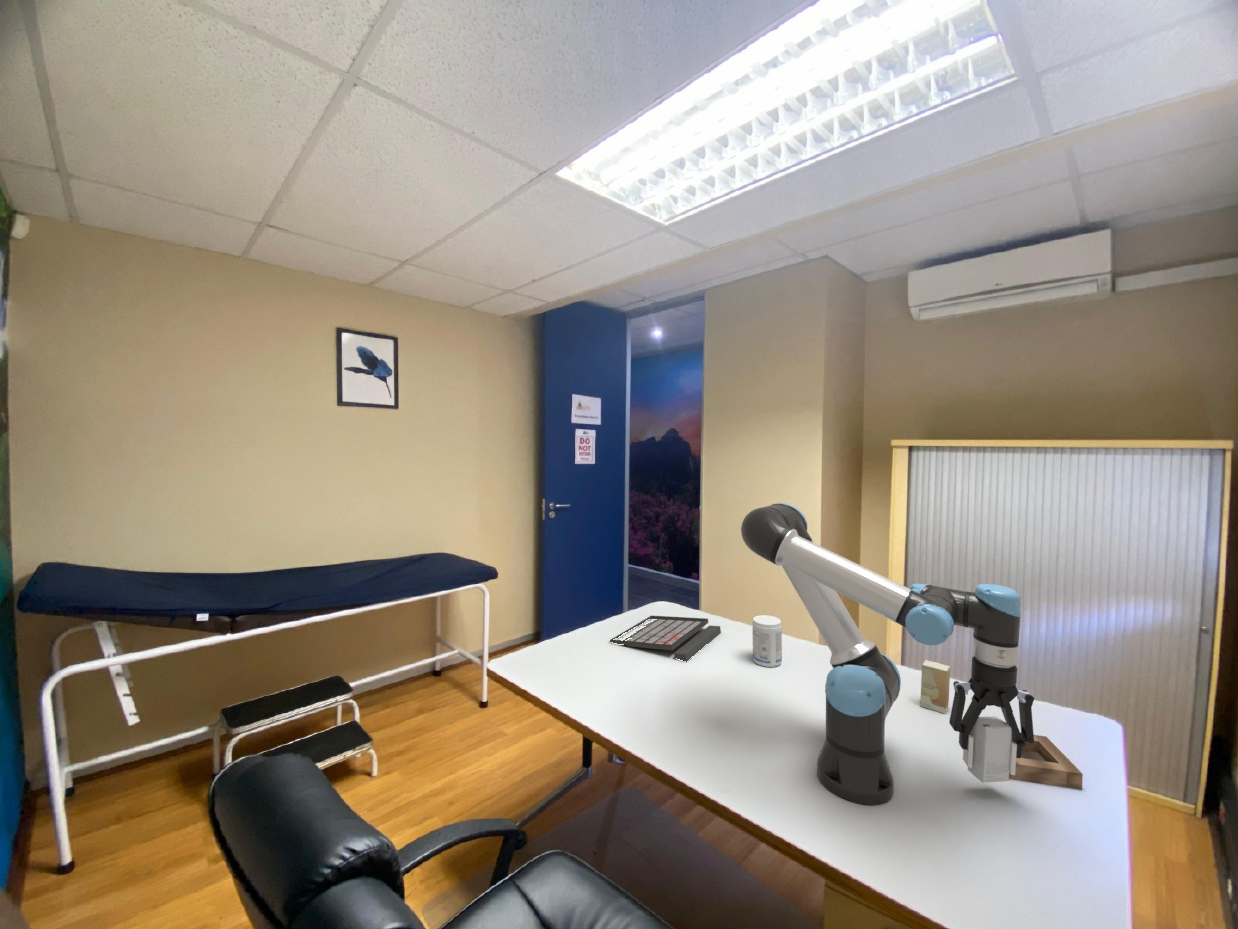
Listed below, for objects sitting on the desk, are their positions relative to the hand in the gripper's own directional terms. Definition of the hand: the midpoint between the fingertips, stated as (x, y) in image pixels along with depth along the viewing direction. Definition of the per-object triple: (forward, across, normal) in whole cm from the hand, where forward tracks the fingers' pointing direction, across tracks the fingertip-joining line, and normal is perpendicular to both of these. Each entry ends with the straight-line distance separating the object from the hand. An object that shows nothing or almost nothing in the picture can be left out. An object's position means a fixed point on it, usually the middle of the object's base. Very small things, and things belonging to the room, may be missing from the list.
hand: (988, 767), depth 103 cm
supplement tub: (+8, -44, +54) cm, 70 cm away
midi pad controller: (+9, -81, +66) cm, 105 cm away
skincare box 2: (+2, 0, 0) cm, 2 cm away
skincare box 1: (+6, +1, +36) cm, 36 cm away
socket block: (+6, +13, +14) cm, 20 cm away
